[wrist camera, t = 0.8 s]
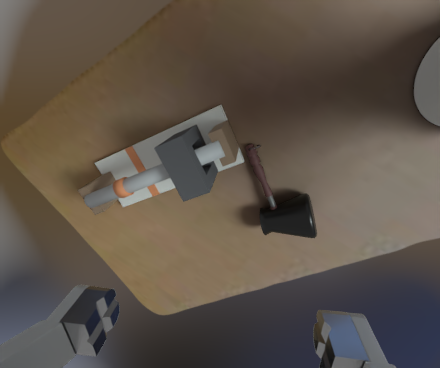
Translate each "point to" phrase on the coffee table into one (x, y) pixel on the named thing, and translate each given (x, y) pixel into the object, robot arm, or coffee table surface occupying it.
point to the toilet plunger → (283, 207)
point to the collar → (187, 163)
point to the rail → (158, 163)
